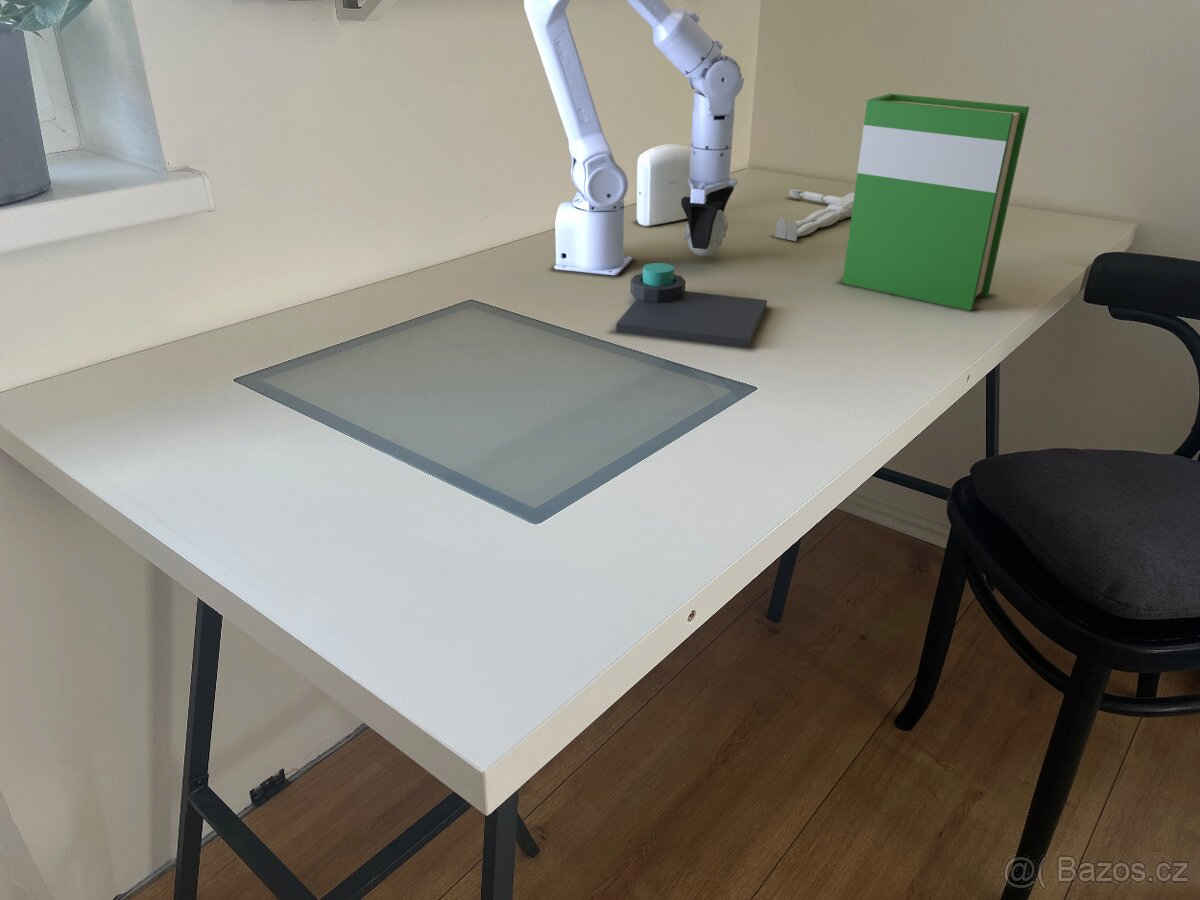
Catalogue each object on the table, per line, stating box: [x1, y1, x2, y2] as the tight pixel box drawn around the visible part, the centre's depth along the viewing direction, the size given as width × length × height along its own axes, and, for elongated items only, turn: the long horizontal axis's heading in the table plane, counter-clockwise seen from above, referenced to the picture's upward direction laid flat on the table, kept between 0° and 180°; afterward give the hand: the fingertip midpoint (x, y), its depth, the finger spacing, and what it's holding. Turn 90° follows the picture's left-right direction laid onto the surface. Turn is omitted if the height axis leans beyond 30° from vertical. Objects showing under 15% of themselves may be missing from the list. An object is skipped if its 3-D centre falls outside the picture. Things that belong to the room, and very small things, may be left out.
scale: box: [615, 272, 768, 349], centre depth 116 cm, size 17×16×3 cm
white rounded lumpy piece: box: [683, 210, 729, 257], centre depth 135 cm, size 6×7×7 cm
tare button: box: [642, 262, 675, 286], centre depth 119 cm, size 4×4×2 cm
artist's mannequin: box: [775, 189, 855, 242], centre depth 156 cm, size 27×4×30 cm
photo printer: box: [636, 143, 691, 227], centre depth 153 cm, size 10×4×12 cm, turn 123°
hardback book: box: [842, 93, 1030, 311], centre depth 120 cm, size 18×7×24 cm, turn 53°
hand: (705, 241), depth 136 cm, fingers closed on white rounded lumpy piece, 6 cm apart
